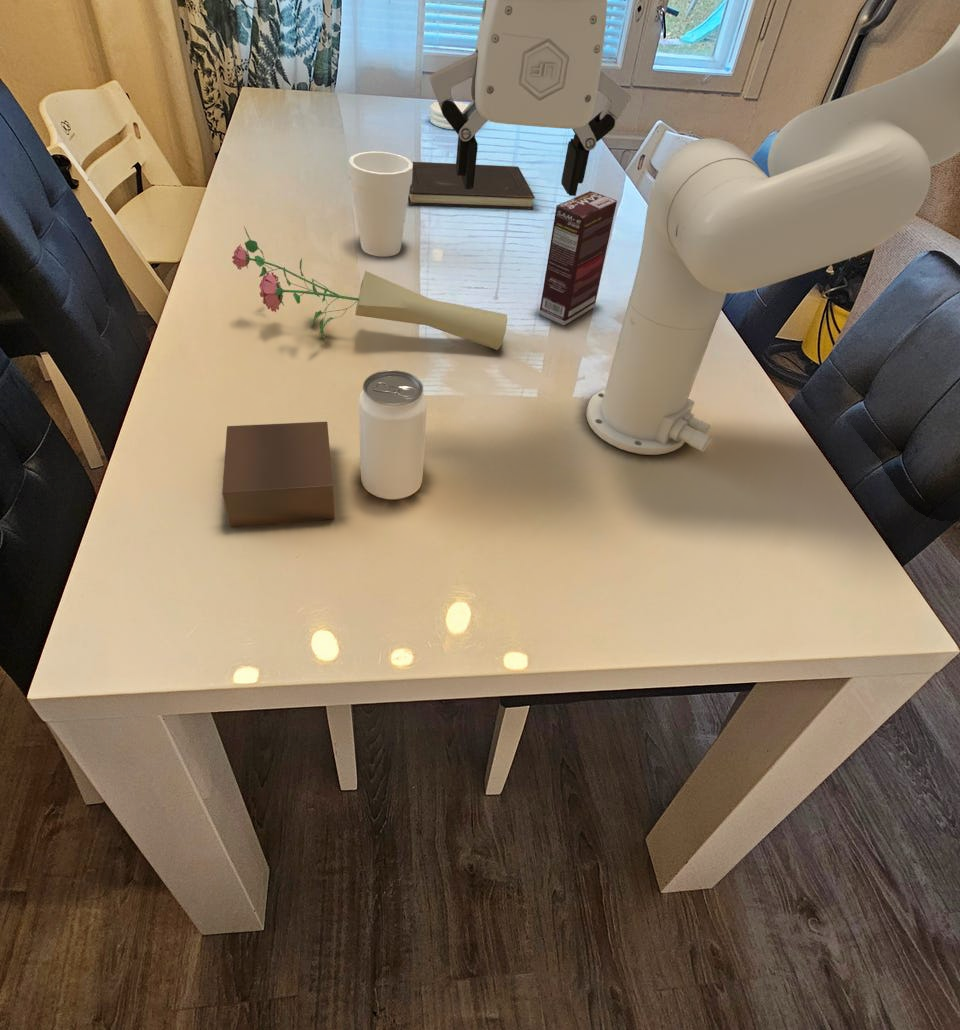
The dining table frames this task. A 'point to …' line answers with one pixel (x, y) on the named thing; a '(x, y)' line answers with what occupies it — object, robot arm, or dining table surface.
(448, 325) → the flower vase
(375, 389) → the can
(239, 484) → the walnut block
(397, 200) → the foam cup
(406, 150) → the dining table surface
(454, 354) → the dining table surface
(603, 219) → the supplement box
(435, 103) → the white stacked discs
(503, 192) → the hardcover book
